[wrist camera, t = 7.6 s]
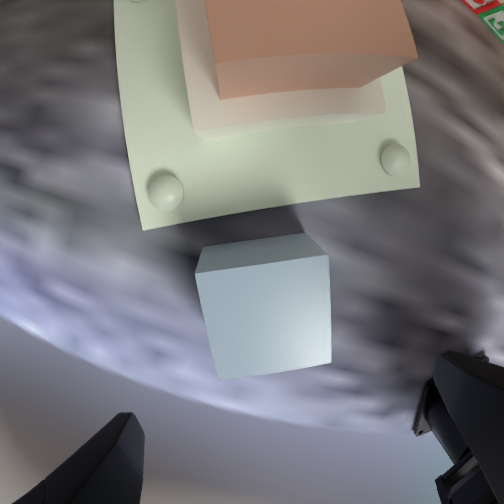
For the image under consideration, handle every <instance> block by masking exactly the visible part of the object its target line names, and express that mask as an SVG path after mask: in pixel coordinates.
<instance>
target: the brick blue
mask: <svg viewBox="0 0 504 504" xmlns="http://www.w3.org/2000/svg"><path fill="white" fill-rule="evenodd" d="M195 278H196V283H197V288H198V293H199V298H200V303H201V307H202V312H203V317H204V321H205V326H206V331H207V335H208V339H209V344H210V348H211V353H212V357H213V361H214V365H215V369H216V374H217V378H218V380H225V379H234V378H242V377H249V376H257V375H264V374H270V373H277V372H283V371H289V370H295V369H300V368H306V367H311V366H316V365H321V364H326V363H331V302H330V275H329V255H328V254H327V253H326V252H325V251H324V250H323V249H322V248H321V247H320V246H319V245H318V244H317V243H316V242H315V241H314V240H313V239H312V238H310V237H309V236H308V235H307V234H306V233H298V234H290V235H283V236H276V237H269V238H261V239H254V240H247V241H240V242H233V243H226V244H219V245H212V246H205V247H203V249H202V252H201V255H200V258H199V261H198V264H197V268H196V271H195Z"/></svg>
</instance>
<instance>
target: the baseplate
mask: <svg viewBox="0 0 504 504" xmlns="http://www.w3.org/2000/svg"><path fill="white" fill-rule="evenodd" d="M114 26H115V45H116V59H117V71H118V82H119V92H120V100H121V109H122V117H123V124H124V131H125V138H126V145H127V151H128V157H129V163H130V169H131V174H132V180H133V185H134V190H135V195H136V200H137V205H138V210H139V215H140V220H141V224H142V229H143V231H144V230H149V229H154V228H159V227H164V226H169V225H174V224H179V223H185V222H190V221H196V220H201V219H206V218H212V217H218V216H223V215H229V214H235V213H241V212H247V211H253V210H259V209H265V208H271V207H277V206H284V205H290V204H296V203H303V202H310V201H317V200H324V199H331V198H338V197H345V196H352V195H360V194H368V193H375V192H383V191H392V190H400V189H409V188H418V187H420V180H419V168H418V158H417V149H416V141H415V134H414V127H413V120H412V114H411V108H410V103H409V97H408V92H407V87H406V82H405V77H404V73H403V69H402V66H401V67H399V68H397V69H395V70H393V71H391V72H389V73H387V74H385V75H383V76H381V77H380V80H381V85H382V90H383V95H384V100H385V106H386V111H387V112H386V113H382V114H379V115H375V116H372V117H368V118H365V119H362V120H358V121H355V122H349V123H333V124H321V125H309V126H299V127H290V128H281V129H273V130H265V131H258V132H251V133H244V134H238V135H232V136H226V137H220V138H214V139H209V140H203V141H202V140H201V139H200V138H199V137H198V136H197V135H196V134H195V133H194V132H193V125H192V119H191V113H190V106H189V100H188V93H187V86H186V79H185V72H184V65H183V58H182V51H181V43H180V35H179V28H178V19H177V11H176V3H175V0H114Z"/></svg>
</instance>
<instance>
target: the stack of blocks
mask: <svg viewBox="0 0 504 504" xmlns="http://www.w3.org/2000/svg"><path fill="white" fill-rule="evenodd" d="M462 1H463V2H464V3H465V4H466V5H467V6H468V7H469V8H470V9H471V10H472V11H473V12H474V13H475V14H476V15H478V16H479V17H480V18H481V19H482V21H483V22H484V23H485V24H486V25H487V26H488V27H489V28H490V29H491V30H492V31H493V32H494V34H495V35H496V36H497V37H498V38H499V39H500V40H501V42H502V43H503V44H504V0H462Z"/></svg>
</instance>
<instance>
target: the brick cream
mask: <svg viewBox="0 0 504 504" xmlns="http://www.w3.org/2000/svg"><path fill="white" fill-rule="evenodd" d="M175 3H176V11H177V19H178V28H179V35H180V43H181V51H182V58H183V65H184V72H185V79H186V86H187V93H188V100H189V106H190V113H191V119H192V125H193V132H194V133H195V134H196V135H197V136H198V137H199V138H200V139H201V140H202V141H203V140H209V139H214V138H220V137H226V136H232V135H238V134H244V133H251V132H258V131H265V130H273V129H281V128H290V127H299V126H309V125H321V124H333V123H349V122H355V121H358V120H362V119H365V118H368V117H372V116H375V115H379V114H382V113H386V112H387V111H386V106H385V100H384V95H383V90H382V85H381V80H380V77H379V78H377V79H376V80H374V81H372V82H370V83H368V84H366V85H364V86H362V87H360V88H328V89H311V90H297V91H286V92H276V93H267V94H259V95H251V96H244V97H237V98H230V99H224V100H221V99H220V93H219V87H218V81H217V75H216V69H215V63H214V56H213V50H212V44H211V38H210V32H209V26H208V20H207V13H206V7H205V1H204V0H175Z"/></svg>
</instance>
